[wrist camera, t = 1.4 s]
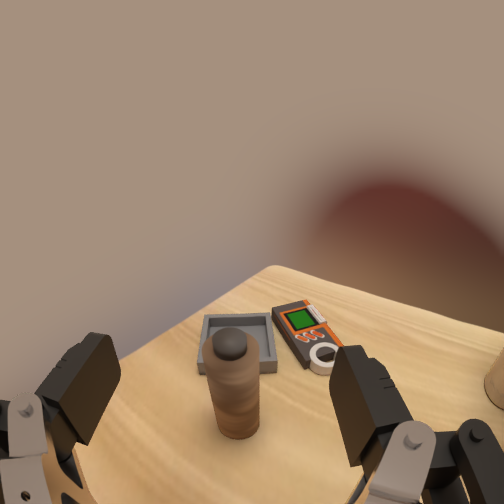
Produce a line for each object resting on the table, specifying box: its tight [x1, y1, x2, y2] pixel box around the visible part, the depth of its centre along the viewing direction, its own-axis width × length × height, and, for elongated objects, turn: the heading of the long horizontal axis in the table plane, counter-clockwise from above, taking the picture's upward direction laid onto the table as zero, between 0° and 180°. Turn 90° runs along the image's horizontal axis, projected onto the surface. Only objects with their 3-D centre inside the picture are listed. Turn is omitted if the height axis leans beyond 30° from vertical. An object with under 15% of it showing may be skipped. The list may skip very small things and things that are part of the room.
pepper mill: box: [202, 327, 259, 439], centre depth 24 cm, size 5×5×14 cm
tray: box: [197, 313, 277, 375], centre depth 38 cm, size 10×10×2 cm
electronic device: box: [271, 300, 344, 375], centre depth 40 cm, size 7×3×15 cm
